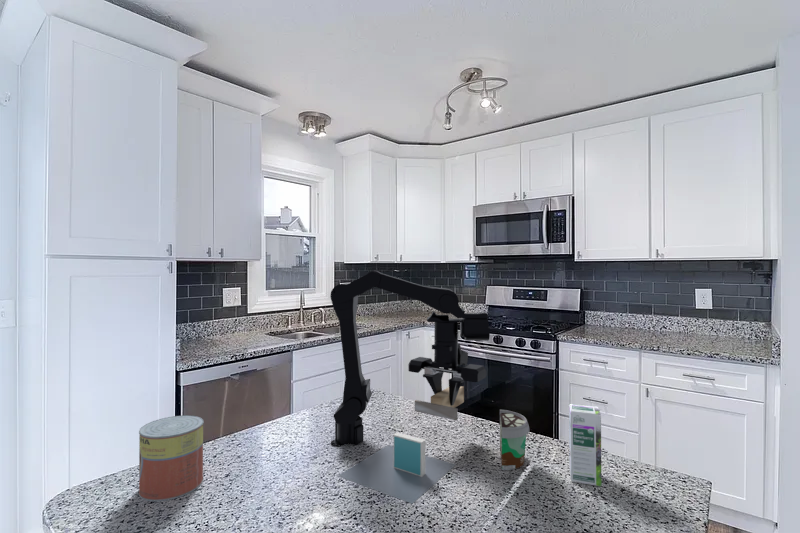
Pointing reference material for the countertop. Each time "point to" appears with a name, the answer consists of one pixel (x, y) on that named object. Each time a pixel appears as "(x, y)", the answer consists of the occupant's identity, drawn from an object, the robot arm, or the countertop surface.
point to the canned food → (170, 457)
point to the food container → (512, 439)
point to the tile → (409, 454)
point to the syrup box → (585, 444)
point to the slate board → (396, 475)
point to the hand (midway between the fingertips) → (446, 403)
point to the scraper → (441, 404)
